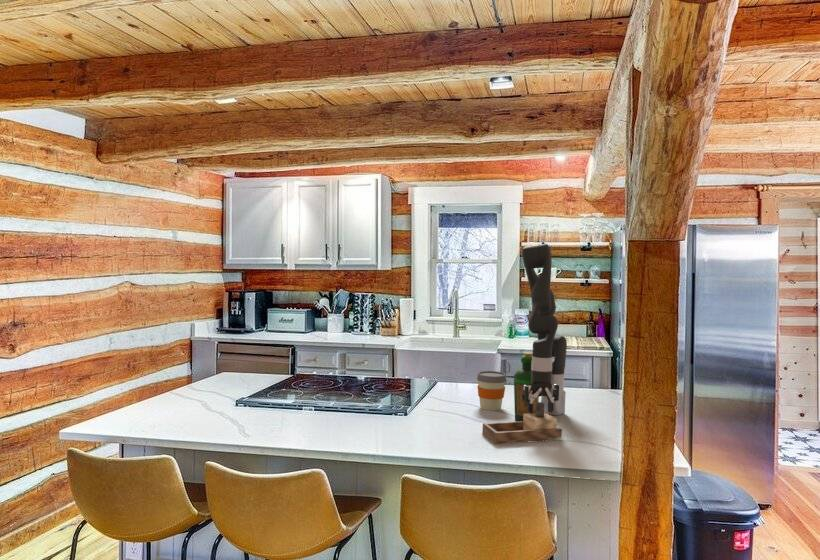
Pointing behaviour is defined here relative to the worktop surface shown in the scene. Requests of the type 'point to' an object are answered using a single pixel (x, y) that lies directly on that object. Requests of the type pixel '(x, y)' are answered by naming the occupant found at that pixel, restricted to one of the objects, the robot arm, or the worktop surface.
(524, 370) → the bottle
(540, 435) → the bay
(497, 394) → the reusable coffee cup
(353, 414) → the worktop surface
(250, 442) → the worktop surface
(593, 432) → the worktop surface
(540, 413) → the light wooden block
